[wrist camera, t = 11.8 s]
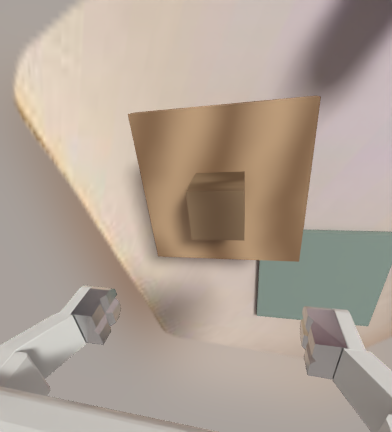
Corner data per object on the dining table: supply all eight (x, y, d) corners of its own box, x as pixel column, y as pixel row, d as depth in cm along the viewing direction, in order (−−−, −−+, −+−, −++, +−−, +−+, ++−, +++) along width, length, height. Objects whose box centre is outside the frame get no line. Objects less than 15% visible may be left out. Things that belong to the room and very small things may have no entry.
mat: (399, 232, 29) (402, 235, 28) (365, 321, 37) (367, 326, 36) (261, 228, 32) (261, 231, 31) (256, 311, 40) (256, 315, 39)
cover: (316, 95, 17) (340, 100, 13) (296, 253, 24) (308, 293, 19) (134, 112, 20) (101, 121, 16) (161, 249, 27) (144, 283, 22)
